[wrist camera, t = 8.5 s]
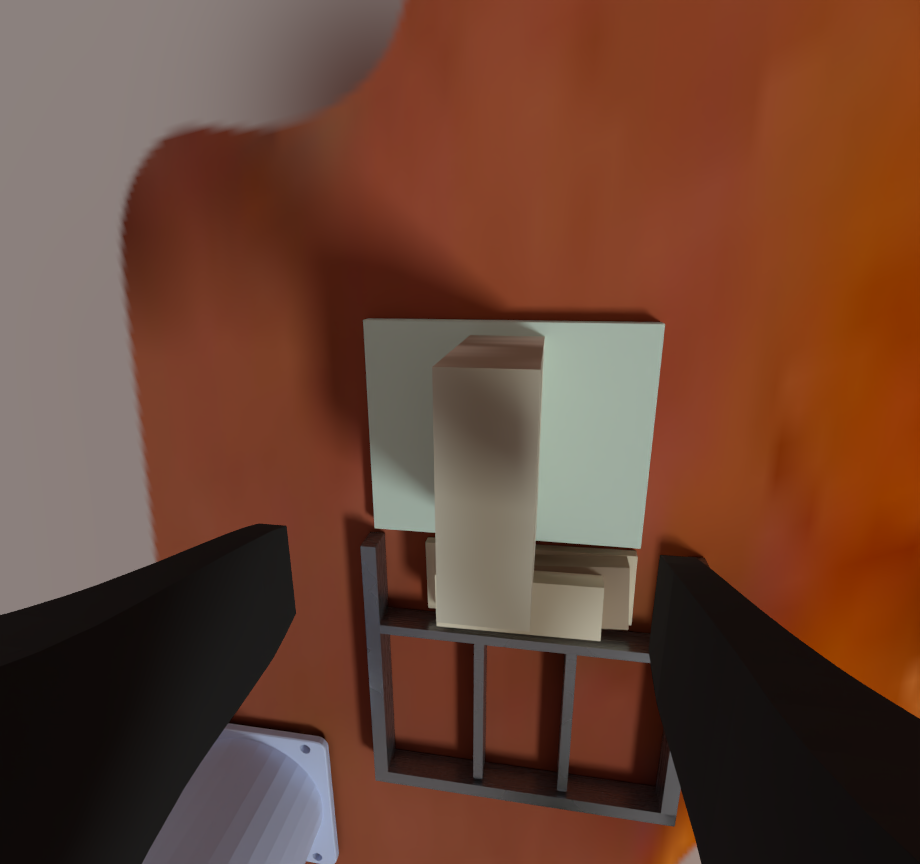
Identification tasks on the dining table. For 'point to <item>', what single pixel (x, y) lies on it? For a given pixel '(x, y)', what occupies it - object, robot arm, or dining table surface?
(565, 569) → the offcut stack
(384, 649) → the metal rack
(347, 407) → the dining table surface
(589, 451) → the sage mat
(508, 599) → the tall beige block
